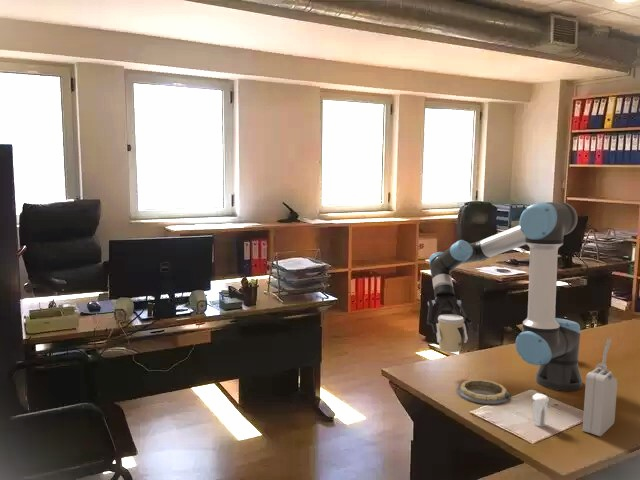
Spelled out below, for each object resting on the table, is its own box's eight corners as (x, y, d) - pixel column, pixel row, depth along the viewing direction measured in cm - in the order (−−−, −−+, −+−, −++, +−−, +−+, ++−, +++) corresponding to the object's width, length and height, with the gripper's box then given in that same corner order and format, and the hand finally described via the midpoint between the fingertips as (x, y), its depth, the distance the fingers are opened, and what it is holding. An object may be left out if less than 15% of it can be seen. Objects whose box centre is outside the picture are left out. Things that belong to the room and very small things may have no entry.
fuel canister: (599, 415, 169) (605, 336, 166) (617, 420, 166) (623, 340, 163) (581, 431, 158) (587, 348, 155) (599, 437, 155) (606, 352, 152)
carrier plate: (512, 389, 189) (512, 383, 188) (506, 408, 173) (507, 401, 173) (462, 381, 196) (462, 375, 195) (452, 399, 180) (453, 392, 180)
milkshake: (525, 421, 165) (527, 389, 164) (542, 420, 165) (544, 388, 164) (532, 428, 160) (534, 395, 159) (550, 427, 161) (552, 395, 159)
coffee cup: (463, 353, 195) (465, 320, 194) (437, 352, 197) (438, 319, 196) (462, 345, 204) (463, 314, 203) (437, 344, 206) (437, 313, 205)
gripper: (469, 293, 214) (480, 345, 200) (414, 293, 214) (421, 345, 200) (473, 283, 208) (485, 335, 194) (416, 283, 208) (424, 335, 194)
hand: (452, 340), depth 197 cm, fingers closed on coffee cup, 9 cm apart
